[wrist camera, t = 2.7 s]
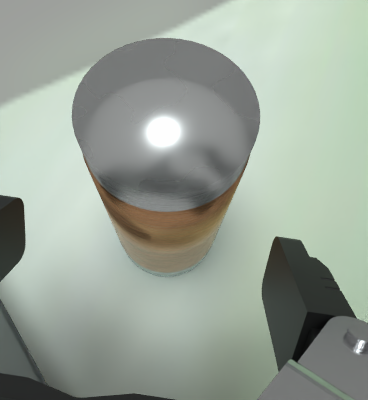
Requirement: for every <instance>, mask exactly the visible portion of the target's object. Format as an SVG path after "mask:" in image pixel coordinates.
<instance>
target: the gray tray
mask: <svg viewBox="0 0 368 400" xmlns="http://www.w3.org/2000/svg"><path fill="white" fill-rule="evenodd" d="M0 373H3V374H10V375H16V376H23V377H29V378H31V379H33V380H36V381H38V382H40V383H43V384H45V385H47V384H46V382H45V380H44V379H43V377H42V375H41V373H40V371H39V369H38V368H37V366H36V364H35V362H34V360H33V358H32V357H31V355H30V353H29V351H28V349H27V347H26V346H25V344H24V342H23V340H22V338H21V336H20V334H19V333H18V331H17V329H16V327H15V325H14V323H13V322H12V320H11V318H10V316H9V314H8V312H7V311H6V309H5V307H4V305H3V303H2V301H1V300H0Z"/></svg>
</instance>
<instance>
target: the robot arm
mask: <svg viewBox="0 0 368 400" xmlns="http://www.w3.org/2000/svg"><path fill="white" fill-rule="evenodd" d="M24 250H25V220H24V204H23V201H22V200H21V199H20V198H16V197H10V196H3V195H0V282H1V280H2V279H3V278H4V277H5V276H6V275H7V274H8V273H9V272H10V271H11V270H12V269H13V268H14V267H15V265H16V264H17V263H18V262H19V261H20V260H21V258H22V256H23V253H24ZM262 300H263V304H264V308H265V313H266V317H267V322H268V326H269V330H270V335H271V339H272V344H273V348H274V353H275V357H276V361H277V366H278V370H279V373H278V374H277V375H276V377H275V378H274V379H273V380H272V382H271V383H270V384H269V385H268V387H267V388H266V389H265V390H264V392H263V393H262V394H261V395H260V397H259V398H258V399H257V400H368V323H366V322H364V321H362V320H359V319H357V318H356V316H355V314H354V312H353V311H352V309H351V307H350V306H349V304H348V302H347V300H346V299H345V297H344V295H343V293H342V292H341V291H340V288H339V286H338V285H337V283H336V282H335V281H334V278H333V276H332V274H331V272H330V271H329V269H328V268H327V267H326V266H325V265H324V264H323V263H321V262H320V261H319V260H318V259H317V258H313V257H309V255H308V253H307V251H306V249H305V247H304V245H303V243H302V241H301V240H297V239H290V238H283V237H275V238H274V240H273V243H272V247H271V251H270V254H269V258H268V262H267V266H266V270H265V274H264V278H263V283H262ZM0 400H173V399H167V398H160V397H154V396H147V395H141V394H123V395H111V396H99V397H87V398H76V397H73V396H70V395H68V394H65V393H63V392H61V391H59V390H56V389H54V388H52V387H49V386H47V385H45V384H43V383H40V382H38V381H36V380H33V379H31V378H29V377H23V376H16V375H10V374H3V373H0Z"/></svg>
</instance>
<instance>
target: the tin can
mask: <svg viewBox="0 0 368 400" xmlns="http://www.w3.org/2000/svg"><path fill="white" fill-rule="evenodd" d="M72 123H73V128H74V132H75V136H76V138H77V141H78V143H79V146H80V148H81V150H82V153H83V157H84V160H85V163H86V165H87V167H88V170H89V172H90V174H91V177H92V179H93V181H94V183H95V186H96V188H97V190H98V192H99V194H100V197H101V199H102V201H103V203H104V206H105V208H106V210H107V212H108V215H109V217H110V219H111V221H112V224H113V226H114V228H115V230H116V233H117V235H118V237H119V239H120V242H121V244H122V246H123V248H124V249H125V251H126V253H127V255H128V256H129V258H130V259H131V260H132V261H133V263H135V264H136V265H137V266H138V267H139V268H141V269H142V270H144V271H146V272H148V273H150V274H153V275H157V276H176V275H180V274H183V273H186V272H188V271H190V270H191V269H193V268H194V267H196V266H197V265H198V264H199V263H200V262H201V261H202V260H203V259H204V257H205V256H206V254H207V252H208V251H209V249H210V247H211V245H212V243H213V241H214V239H215V236H216V234H217V232H218V230H219V227H220V225H221V223H222V220H223V218H224V216H225V214H226V211H227V209H228V207H229V204H230V202H231V200H232V198H233V195H234V193H235V191H236V188H237V186H238V184H239V182H240V179H241V177H242V175H243V172H244V170H245V168H246V166H247V163H248V160H249V156H250V153H251V150H252V148H253V146H254V143H255V141H256V138H257V135H258V131H259V125H260V109H259V103H258V99H257V96H256V93H255V90H254V88H253V86H252V84H251V82H250V81H249V80H248V78H247V77H246V75H245V74H244V73H243V72H242V70H241V69H240V68H239V67H238V66H237V65H236V64H235V63H233V62H232V61H231V60H230V59H229V58H227V57H226V56H224V55H223V54H221V53H219V52H218V51H216V50H214V49H212V48H210V47H207V46H205V45H202V44H199V43H196V42H192V41H187V40H182V39H173V38H156V39H147V40H142V41H137V42H134V43H131V44H128V45H125V46H123V47H120V48H118V49H116V50H114V51H112V52H111V53H109V54H107V55H106V56H104V57H103V58H102V59H100V60H99V61H98V62H97V63H96V64H95V65H94V66H93V67H92V68H91V69H90V70H89V71H88V72H87V74H86V75H85V76H84V78H83V79H82V81H81V83H80V84H79V86H78V89H77V91H76V94H75V97H74V101H73V107H72Z"/></svg>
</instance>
